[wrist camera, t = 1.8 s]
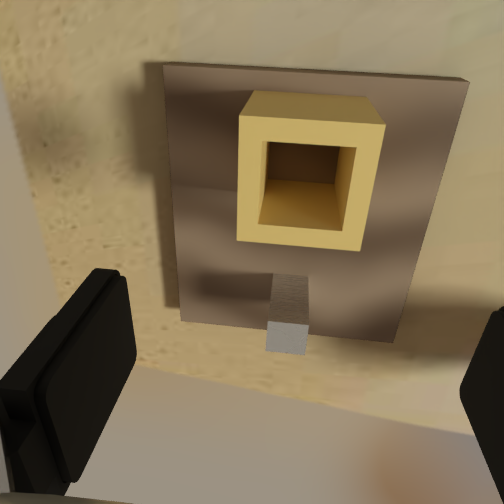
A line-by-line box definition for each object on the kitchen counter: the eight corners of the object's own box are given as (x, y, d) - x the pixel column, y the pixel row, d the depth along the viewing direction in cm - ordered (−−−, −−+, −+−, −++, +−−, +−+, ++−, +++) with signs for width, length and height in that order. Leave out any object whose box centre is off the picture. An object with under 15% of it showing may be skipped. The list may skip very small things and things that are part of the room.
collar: (254, 90, 22) (239, 115, 17) (366, 96, 22) (385, 124, 16) (250, 193, 25) (236, 240, 20) (348, 200, 25) (360, 251, 20)
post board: (170, 61, 23) (128, 79, 18) (460, 77, 22) (513, 101, 16) (185, 308, 32) (161, 370, 27) (389, 329, 31) (407, 398, 26)
